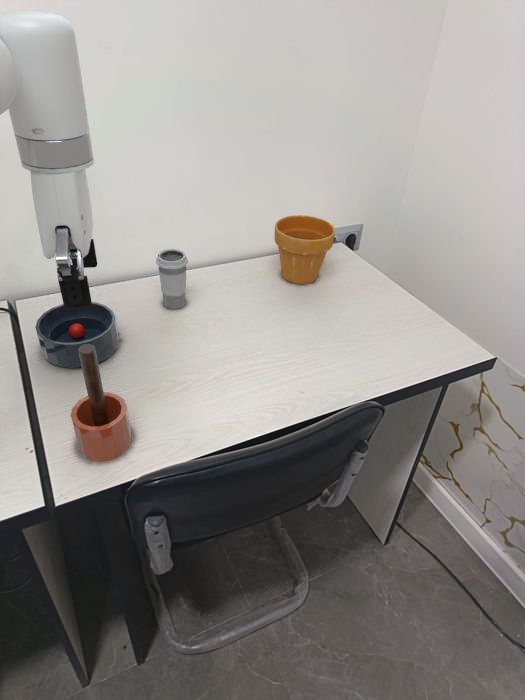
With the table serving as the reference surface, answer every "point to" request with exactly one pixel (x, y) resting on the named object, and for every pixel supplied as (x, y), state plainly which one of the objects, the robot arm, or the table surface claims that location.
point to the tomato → (76, 330)
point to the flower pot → (303, 246)
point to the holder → (102, 429)
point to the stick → (93, 384)
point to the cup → (172, 277)
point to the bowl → (65, 348)
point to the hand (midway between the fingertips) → (82, 285)
